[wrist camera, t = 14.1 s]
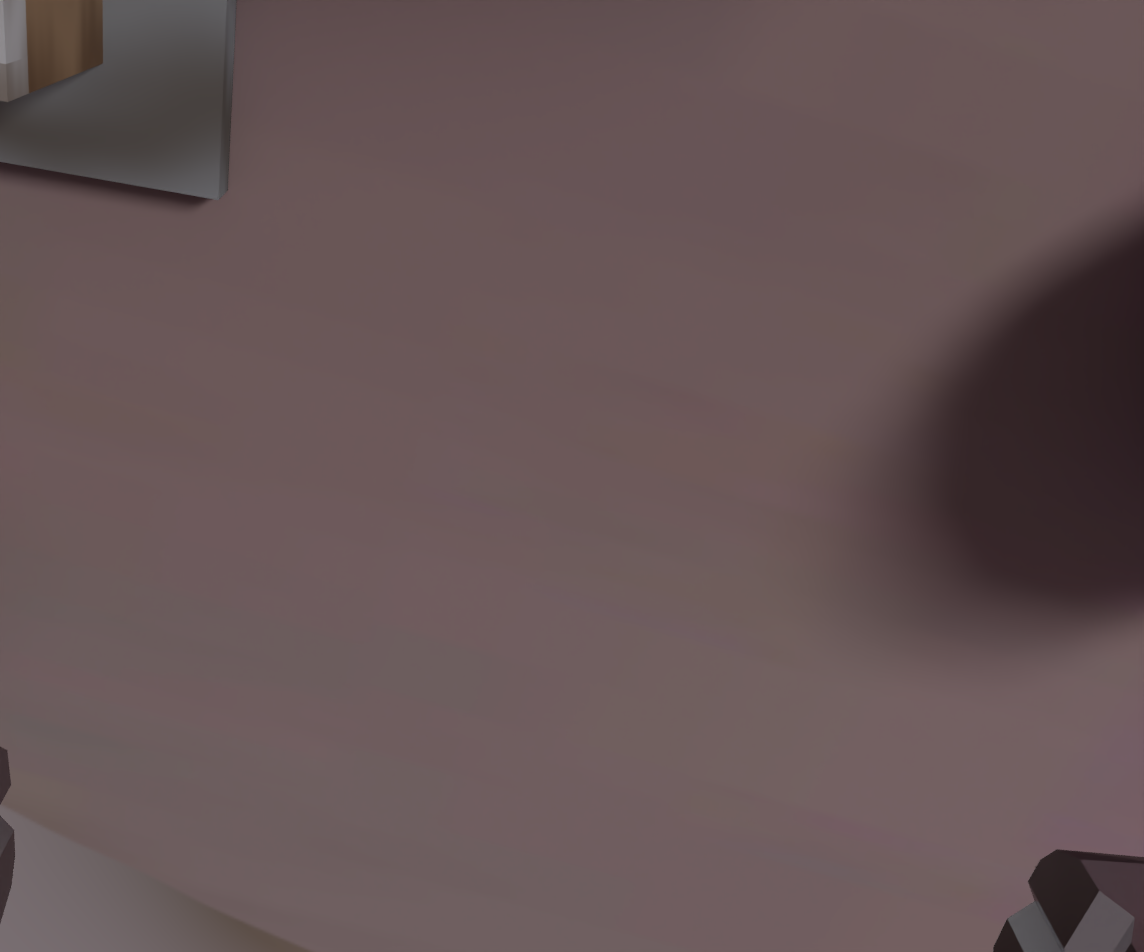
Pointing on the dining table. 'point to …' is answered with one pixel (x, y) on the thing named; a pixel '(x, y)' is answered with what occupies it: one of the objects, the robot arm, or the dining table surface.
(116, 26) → the display riser
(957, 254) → the dining table surface
